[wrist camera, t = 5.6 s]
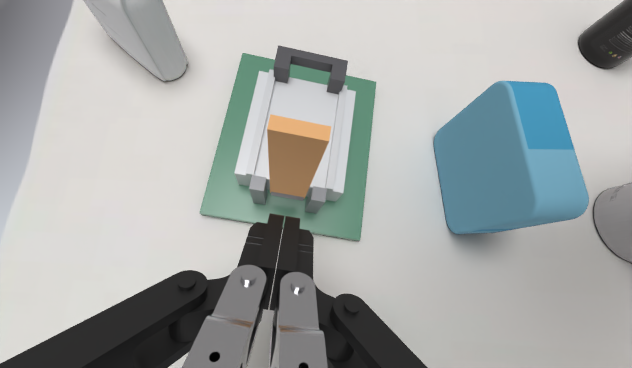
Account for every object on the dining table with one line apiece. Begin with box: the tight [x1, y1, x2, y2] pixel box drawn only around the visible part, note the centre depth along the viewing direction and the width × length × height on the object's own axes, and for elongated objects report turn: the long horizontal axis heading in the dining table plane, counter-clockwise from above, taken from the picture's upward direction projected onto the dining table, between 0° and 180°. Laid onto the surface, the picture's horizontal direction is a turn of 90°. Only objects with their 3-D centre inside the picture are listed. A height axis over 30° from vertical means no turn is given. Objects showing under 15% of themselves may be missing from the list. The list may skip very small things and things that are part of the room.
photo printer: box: [83, 0, 188, 81], centre depth 28 cm, size 10×4×12 cm, turn 50°
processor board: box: [200, 46, 376, 241], centre depth 30 cm, size 19×16×7 cm
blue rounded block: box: [434, 81, 589, 234], centre depth 29 cm, size 12×4×12 cm, turn 3°
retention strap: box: [267, 114, 331, 201], centre depth 20 cm, size 1×3×13 cm, turn 81°
